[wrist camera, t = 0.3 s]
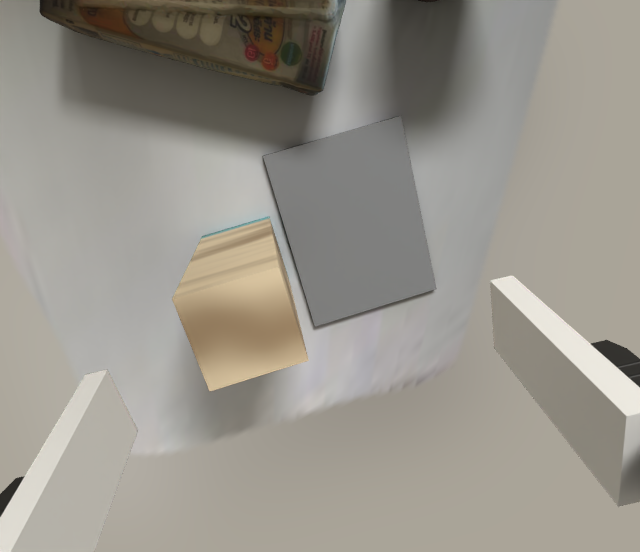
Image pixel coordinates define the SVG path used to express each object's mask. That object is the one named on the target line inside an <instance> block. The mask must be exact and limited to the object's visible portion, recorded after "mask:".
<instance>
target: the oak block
mask: <svg viewBox="0 0 640 552" xmlns="http://www.w3.org/2000/svg"><path fill="white" fill-rule="evenodd" d="M172 300H173V303H174V305H175V307H176V310H177V312H178V315H179V317H180V320H181V322H182V325H183V327H184V330H185V332H186V335H187V337H188V339H189V342H190V344H191V347H192V349H193V352H194V354H195V357H196V359H197V362H198V364H199V367H200V369H201V371H202V374H203V376H204V379H205V381H206V384H207V386H208V389H209V391H213V390H217V389H220V388H223V387H226V386H229V385H232V384H236V383H239V382H242V381H245V380H248V379H252V378H255V377H258V376H261V375H264V374H267V373H271V372H274V371H277V370H280V369H283V368H286V367H290V366H293V365H296V364H299V363H302V362H306V361H309V360H308V356H307V352H306V348H305V344H304V340H303V335H302V331H301V327H300V323H299V319H298V315H297V311H296V307H295V303H294V298H293V294H292V290H291V286H290V282H289V278H288V275H287V272H286V269H285V265H284V262H283V259H282V256H281V253H280V249H279V246H278V243H277V240H276V237H275V233H274V230H273V227H272V224H271V221H270V217H265V218H262V219H259V220H255V221H252V222H248V223H245V224H242V225H238V226H235V227H232V228H228V229H225V230H222V231H218V232H215V233H212V234H208V235H205V236H202V238H201V240H200V242H199V244H198V246H197V248H196V251H195V253H194V255H193V257H192V259H191V261H190V263H189V265H188V267H187V269H186V271H185V273H184V275H183V278H182V280H181V282H180V284H179V286H178V288H177V290H176V292H175V294H174V296H173V298H172Z"/></svg>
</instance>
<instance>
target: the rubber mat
mask: <svg viewBox="0 0 640 552" xmlns="http://www.w3.org/2000/svg"><path fill="white" fill-rule="evenodd" d="M263 158H264V161H265V165H266V168H267V171H268V175H269V178H270V181H271V184H272V188H273V191H274V194H275V198H276V201H277V204H278V207H279V211H280V214H281V217H282V221H283V224H284V227H285V230H286V234H287V237H288V240H289V244H290V247H291V250H292V253H293V257H294V260H295V263H296V267H297V270H298V273H299V276H300V280H301V283H302V286H303V290H304V293H305V296H306V299H307V303H308V306H309V309H310V312H311V316H312V319H313V322H314V326H315V327H316V326H319V325H322V324H325V323H329V322H332V321H335V320H338V319H341V318H345V317H348V316H351V315H354V314H357V313H361V312H364V311H367V310H370V309H374V308H377V307H380V306H383V305H386V304H390V303H393V302H396V301H399V300H402V299H406V298H409V297H412V296H415V295H418V294H422V293H425V292H428V291H431V290H435V289H436V284H435V279H434V274H433V269H432V265H431V260H430V255H429V250H428V245H427V240H426V235H425V230H424V225H423V220H422V216H421V211H420V206H419V201H418V196H417V191H416V186H415V181H414V176H413V172H412V167H411V162H410V157H409V152H408V147H407V142H406V137H405V132H404V127H403V123H402V118H401V116H398V117H395V118H391V119H388V120H384V121H381V122H377V123H374V124H371V125H367V126H364V127H360V128H357V129H354V130H350V131H347V132H343V133H340V134H336V135H333V136H330V137H326V138H323V139H319V140H316V141H312V142H309V143H306V144H302V145H299V146H295V147H292V148H288V149H285V150H282V151H278V152H275V153H271V154H268V155H264V156H263Z"/></svg>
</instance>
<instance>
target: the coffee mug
mask: <svg viewBox="0 0 640 552" xmlns="http://www.w3.org/2000/svg"><path fill="white" fill-rule="evenodd" d="M419 1H424V2H435V1H438V0H419Z"/></svg>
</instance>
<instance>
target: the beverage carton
mask: <svg viewBox="0 0 640 552" xmlns="http://www.w3.org/2000/svg"><path fill="white" fill-rule="evenodd" d="M345 3H346V0H40V13H41V15H42V16H44V17H46V18H47V19H49V20H51V21H53V22H55V23H58V24H60V25H62V26H65V27H67V28H69V29H71V30H74V31H76V32H79V33H82V34H86V35H89V36H91V37H95V38H98V39H102V40H105V41H108V42H112V43H116V44H119V45H122V46H125V47H129V48H133V49H137V50H141V51H144V52H148V53H152V54H155V55H159V56H163V57H167V58H170V59H173V60H177V61H181V62H185V63H188V64H192V65H196V66H199V67H203V68H207V69H210V70H214V71H218V72H222V73H226V74H231V75H235V76H239V77H243V78H248V79H253V80H257V81H261V82H265V83H269V84H274V85H282V86H284V87H287V88H290V89H293V90H296V91H299V92H302V93H305V94H307V95H316V94H318V92H321V91H323V89H324V85H325V81H326V77H327V73H328V68H329V64H330V60H331V56H332V53H333V49H334V44H335V39H336V35H337V32H338V29H339V26H340V23H341V18H342V14H343V11H344V7H345Z"/></svg>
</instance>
